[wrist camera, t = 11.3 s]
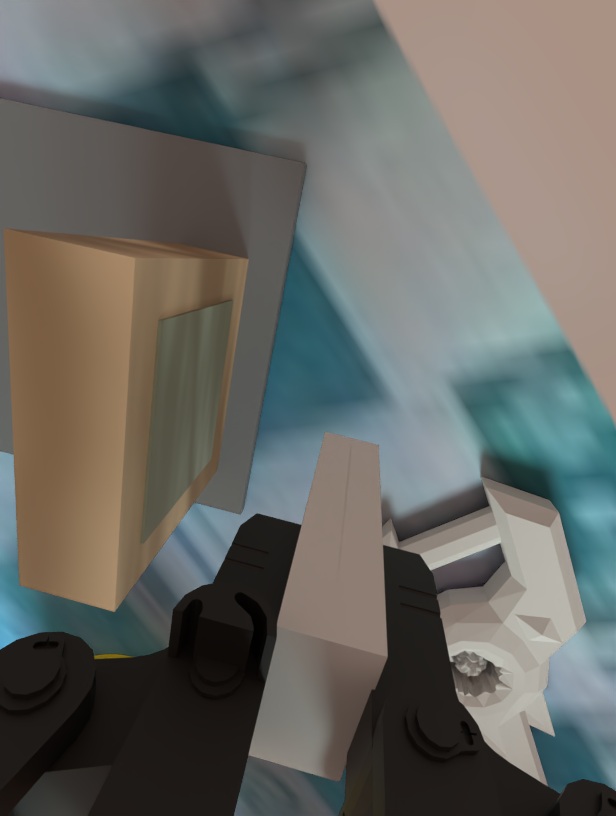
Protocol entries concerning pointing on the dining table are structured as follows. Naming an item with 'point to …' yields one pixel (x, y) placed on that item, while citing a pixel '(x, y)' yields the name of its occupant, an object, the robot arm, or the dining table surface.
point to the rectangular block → (113, 400)
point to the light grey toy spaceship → (505, 614)
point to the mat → (159, 234)
